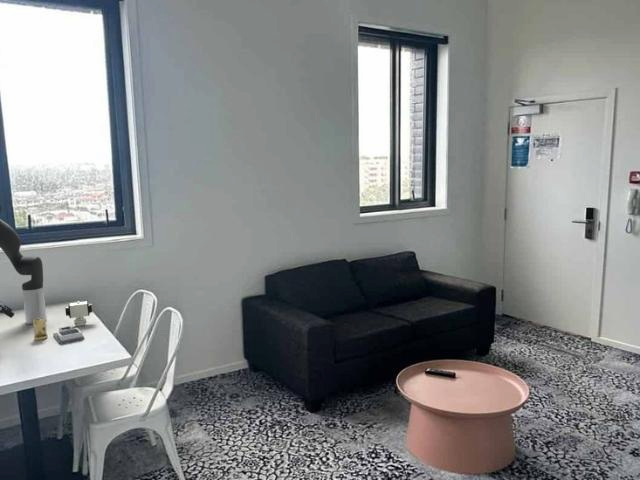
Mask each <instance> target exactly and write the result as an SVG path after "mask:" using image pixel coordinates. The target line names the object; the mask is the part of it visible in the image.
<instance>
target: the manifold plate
mask: <svg viewBox="0 0 640 480" xmlns="http://www.w3.org/2000/svg"><path fill="white" fill-rule="evenodd" d="M52 336H53V337H54V338H55V340H56V342H57V343H59V345H62V344H68V343H73V342H77V341H82V340H85V336H84V335H83V332H82V331H81V330H80V328H78V327H75V328H72V326H70V325H69V326H64V327H59V328H58V331H56V332H54V333H52Z"/></svg>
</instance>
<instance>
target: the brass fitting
mask: <svg viewBox="0 0 640 480" xmlns="http://www.w3.org/2000/svg"><path fill="white" fill-rule="evenodd" d="M32 325H33V333H34V337H33V339H34V341H44V340H46V339H48V338H49V336H48V333H47V323H46V321H45V318H36V319H34V320H33V324H32Z"/></svg>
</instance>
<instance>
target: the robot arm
mask: <svg viewBox="0 0 640 480" xmlns="http://www.w3.org/2000/svg"><path fill="white" fill-rule="evenodd" d="M2 209H3V207H2V204H1V202H0V214H1V213H2V211H3V210H2ZM21 245H22V240H21V237H20V236H19V235H18V233H17V231H16V230H15V229H14V228H13V227H11V225H9V224H8V223H7V222H5V221H3V220H2V219H1V218H0V249H1V250H2V251H3V253H4V254H5V256H6V257H8V260H9V261H10V263H11V265H12V266H13V268H14V270H15V271H16V272H17V274H19V275H20V276H31V277H30V278H31V279H30V280H28V281H24V282H23V283H22V284H21V289H22V290H21V291H22V297H23V308H24V316H25V317H24V318H25V324H27V325H33V320H34V319H36V318H45V322H46V321H47V313H46V312H47V310H46V300H45V292H44V271H43V270H44V264H43V261H42V259H41V257H39V256H24V255H22V253H21V251H20V249H21ZM0 314H4V315H6V316H7V317H9V318H10V319H12V318H13V317H14V316H15V312H13V309H12V308H10V307H9V306H7V305H6V304H5V303H4V302H3V301H1V300H0Z"/></svg>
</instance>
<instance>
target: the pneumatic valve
mask: <svg viewBox="0 0 640 480" xmlns="http://www.w3.org/2000/svg"><path fill="white" fill-rule="evenodd" d="M64 308H65V309H64V310H65V315H66V317H67V316H68V318H69V319H74V318H75V319H74V320H73V323H74V325H75V326H76V327H82V326H83V327H84V326H85V325H86V324H87V319H86V318H85V317H89V316H90V314H91V313H93V304H92V303H90V302H89V301H79V300H78V301H76V302H71V303H68V305H67V306H65V307H64Z"/></svg>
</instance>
